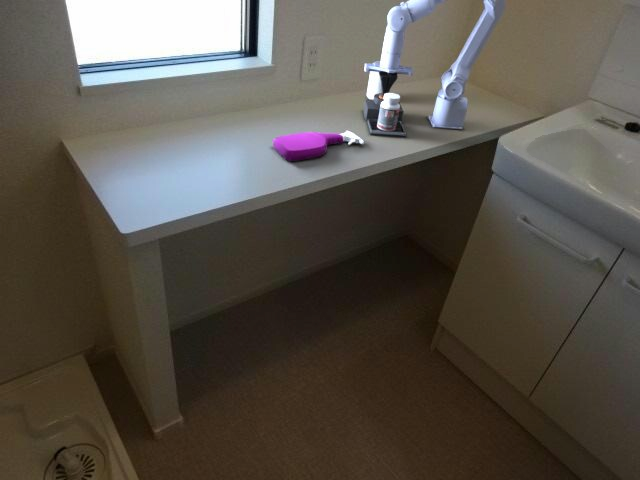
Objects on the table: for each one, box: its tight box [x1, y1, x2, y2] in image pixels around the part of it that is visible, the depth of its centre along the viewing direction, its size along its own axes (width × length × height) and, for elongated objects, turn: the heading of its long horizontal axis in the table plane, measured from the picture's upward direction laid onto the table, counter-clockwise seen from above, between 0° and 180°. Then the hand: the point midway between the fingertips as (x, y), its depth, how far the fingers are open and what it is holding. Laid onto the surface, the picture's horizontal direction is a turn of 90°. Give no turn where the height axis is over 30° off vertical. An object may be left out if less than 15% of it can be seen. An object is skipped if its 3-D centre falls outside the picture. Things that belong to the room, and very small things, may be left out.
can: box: [366, 60, 391, 99], centre depth 162 cm, size 8×8×12 cm
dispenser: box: [363, 93, 404, 122], centre depth 152 cm, size 11×9×6 cm
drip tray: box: [366, 119, 407, 138], centre depth 145 cm, size 10×9×1 cm
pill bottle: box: [377, 92, 401, 131], centre depth 142 cm, size 6×6×10 cm
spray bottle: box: [272, 130, 365, 162], centre depth 131 cm, size 3×11×24 cm
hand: (384, 96), depth 151 cm, fingers closed, pressing on start button
